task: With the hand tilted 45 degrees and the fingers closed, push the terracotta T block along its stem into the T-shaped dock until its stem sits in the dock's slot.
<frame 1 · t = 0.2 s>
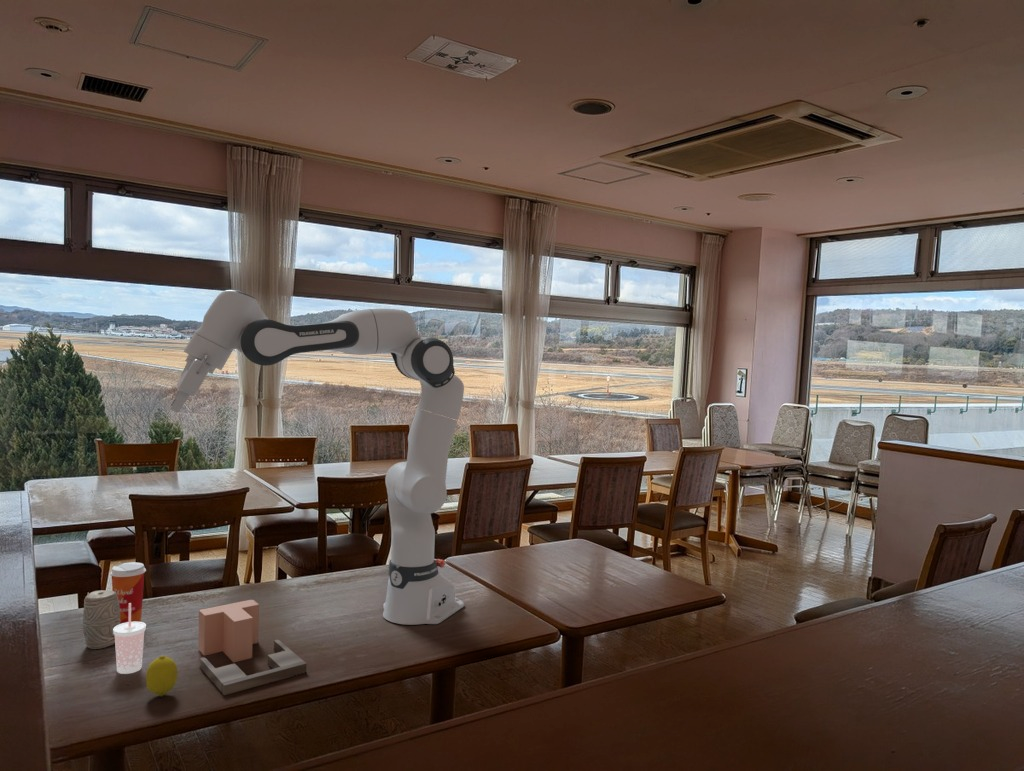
hand: (174, 409, 159), 54 cm above the table, tool tilted 30°, fingers open, 8 cm apart
t block: (234, 651, 162), on the table
carving: (101, 646, 162), on the table
t dock: (251, 668, 154), on the table
paper cup: (128, 624, 175), on the table
lemon: (161, 697, 141), on the table
beverage cup: (129, 669, 152), on the table
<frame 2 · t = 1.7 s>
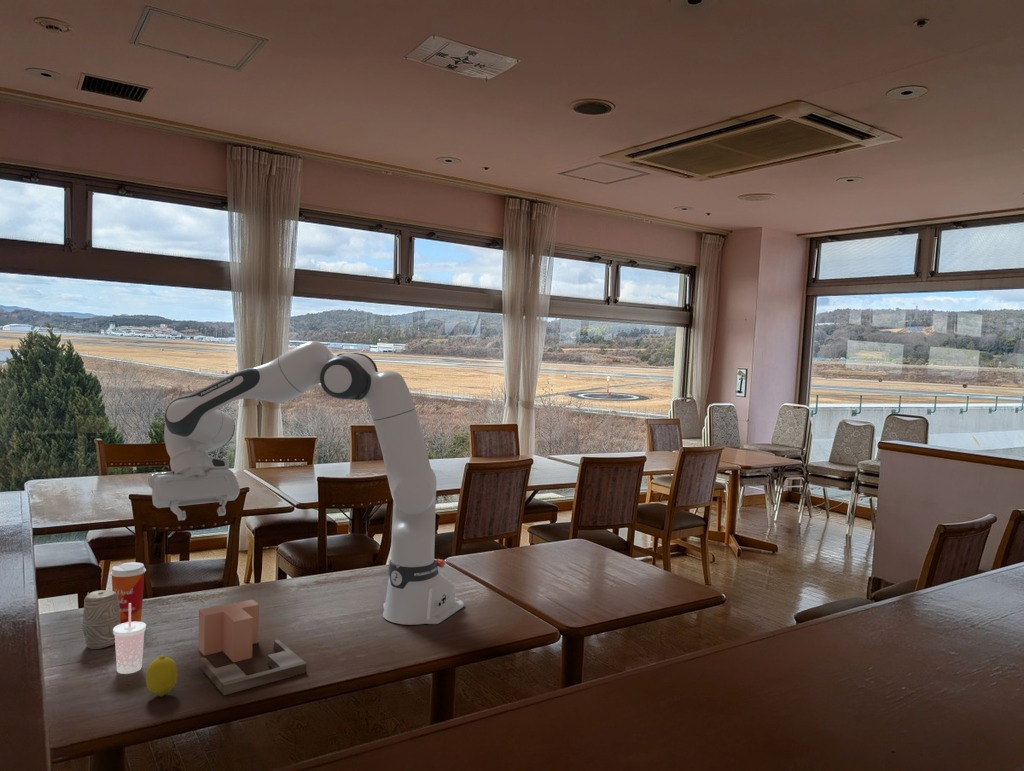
hand: (202, 516, 177), 26 cm above the table, tool tilted 45°, fingers open, 8 cm apart
nothing on the table moved.
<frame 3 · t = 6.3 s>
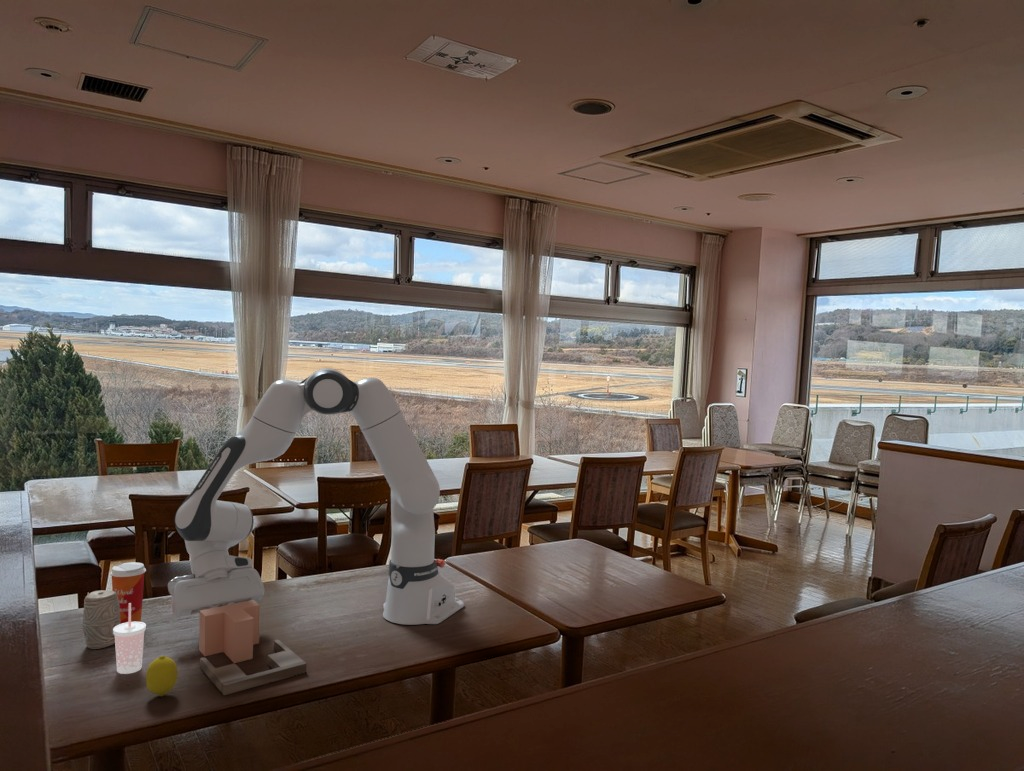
hand: (226, 624, 166), 4 cm above the table, tool tilted 45°, fingers closed, pressing on t block
t block: (234, 652, 161), on the table, touching gripper
everything else where it was.
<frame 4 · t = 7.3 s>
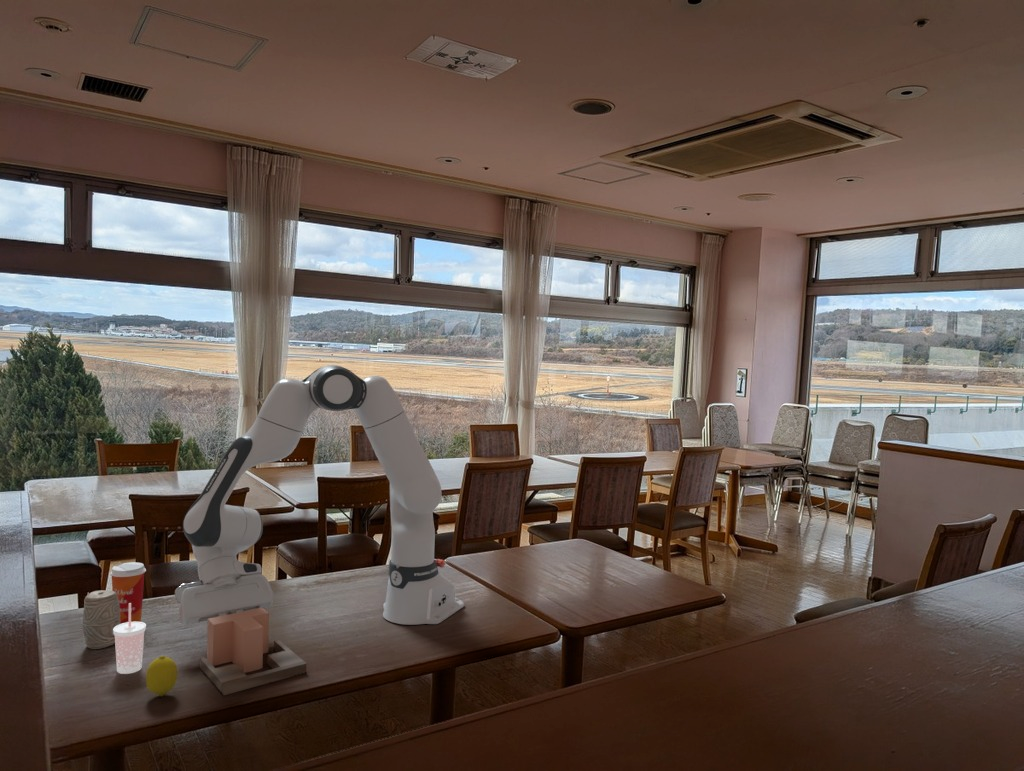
hand: (234, 632, 161), 4 cm above the table, tool tilted 45°, fingers closed, pressing on t block
t block: (243, 661, 157), on the table, touching gripper
everything else where it was.
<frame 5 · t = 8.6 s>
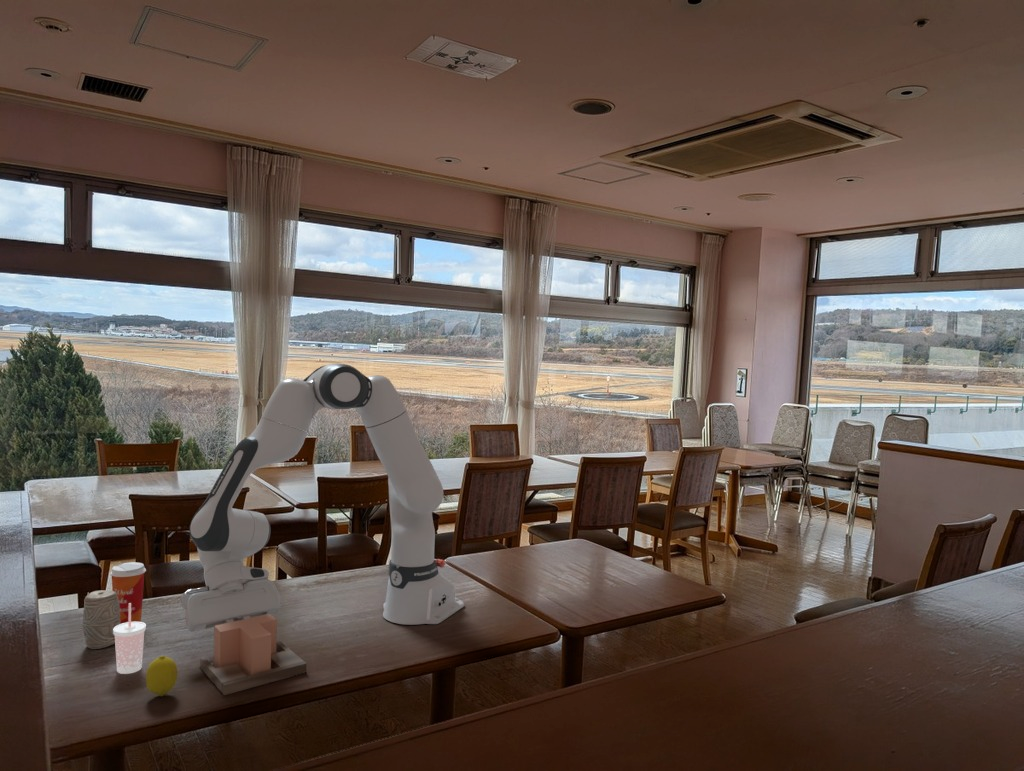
hand: (242, 639, 158), 4 cm above the table, tool tilted 45°, fingers closed, pressing on t block
t block: (251, 669, 153), on the table, touching gripper
everything else where it was.
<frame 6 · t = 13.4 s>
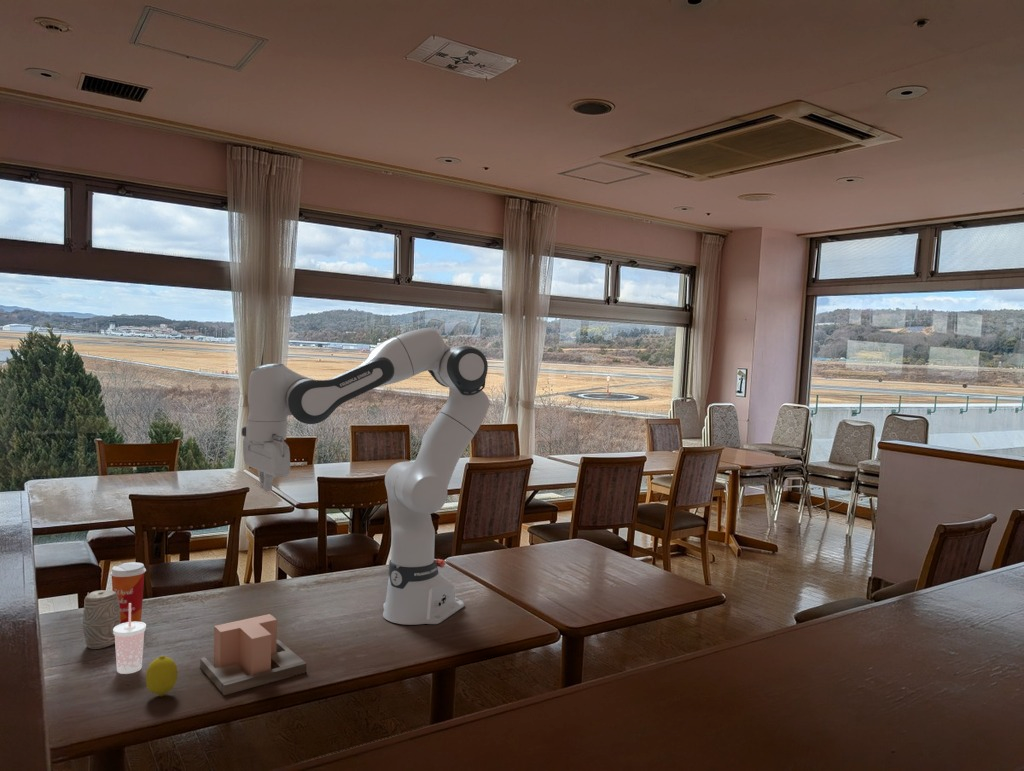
hand: (265, 489, 172), 34 cm above the table, tool pointing down, fingers closed
t block: (251, 669, 153), on the table
everything else where it was.
at the end: t block 0.7 cm off-centre on the t dock, point 0.0 cm above the t dock's base; t block tilted 0° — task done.
